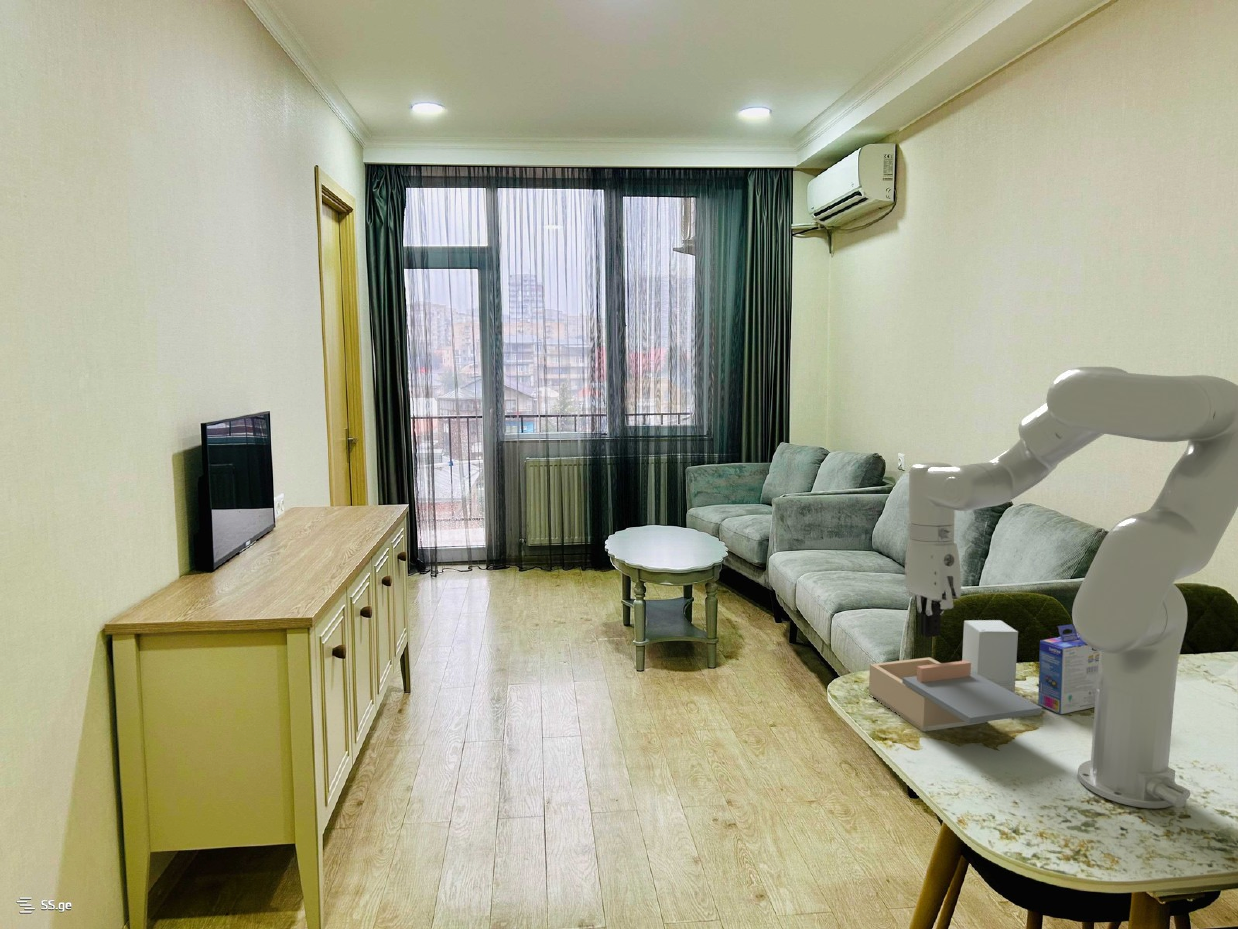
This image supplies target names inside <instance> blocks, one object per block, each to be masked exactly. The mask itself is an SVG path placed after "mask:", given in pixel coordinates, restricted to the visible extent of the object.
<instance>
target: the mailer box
mask: <svg viewBox="0 0 1238 929" xmlns="http://www.w3.org/2000/svg"><path fill="white" fill-rule="evenodd" d="M940 663H941V662H939V661H938V660H936V659H934V658H932V657H930V656H929V657H922V658H913V659H904V660H895V661H894V660H893V661H886V662H877V663H870V664H869V674H868V675H869V676H868V678H869V680H868V695H869V694H870V695H872V696H873V697H874V698H876V699H877V700H878V701H879V702H881V703H882V704H883V706H884V705H885V706H887V707H888V708H890V709H891V710H892V711H891V710H890V709H889V710H890V711H891V712H893V713H894V712H896V713H897V714H898V716H899V715H900V716H901V717H900V716H899V717H900V718H902V719H904V720H905V721H906V720H907V721H906V722H908V723H909V722H910V723H909V724H911V725H912V726H913V727H915V726H916V727H915V728H917V729H918V730H920V731H921V732H931V731H937V730H946V729H951V728H959V727H964V726H965V727H966V726H973V725H978V724H979V725H980V724H985V723H987V724H988V722H981V723H974V724H969V723H967V722H965V721H964V720H962V719H960V718H959V717H957V716H955V715H954V714H952V713H950V712H949V711H947V710H946V709H944V708H942V707H941V706H939V705H937V704H936V703H934V702H932V701H931V700H929V699H927V698H926V697H924V696H922V695H921V694H919V693H918V692H916V691H914V690H913V689H911V688H909V687H908V686H906V685H904V684H903V683H902V682H903V678H905V677H914V676H917V666H923V665H932V664H940ZM874 698H873V699H874ZM877 700H876V701H877ZM878 701H877V702H878ZM879 702H878V703H879ZM881 703H880V704H881ZM882 704H881V705H882ZM885 706H884V707H885ZM887 707H886V708H887ZM888 708H887V709H888ZM896 713H895V714H896ZM897 714H896V715H897Z"/></svg>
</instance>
